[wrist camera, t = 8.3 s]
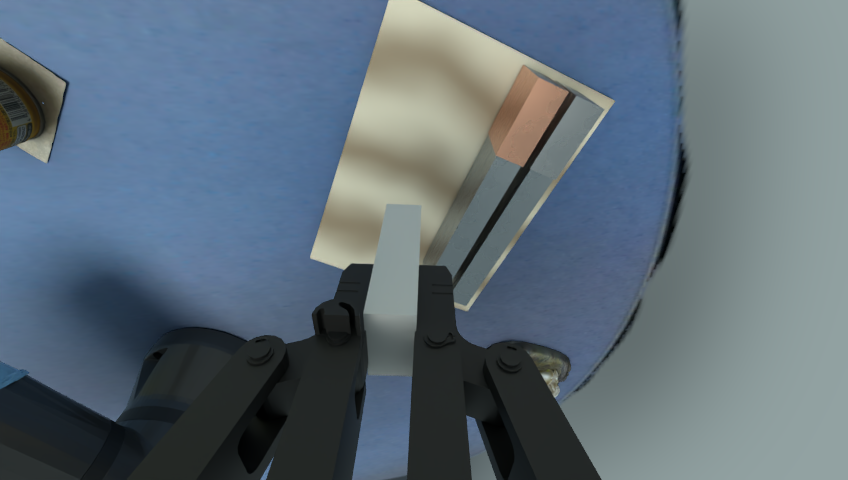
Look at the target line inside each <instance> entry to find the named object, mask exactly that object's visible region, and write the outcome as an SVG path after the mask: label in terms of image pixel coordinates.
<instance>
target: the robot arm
mask: <svg viewBox="0 0 848 480" xmlns="http://www.w3.org/2000/svg"><path fill="white" fill-rule="evenodd" d="M420 230H421V205H403V204H387V205H386V210H385V214H384V219H383V224H382V228H381V233H380V238H379V242H378V247H377V252H376V256H375V261H374V264H356V263H351V264H350V265H349V266H348V267H347V268H346V269H345V270H344V271H343V272H342V275H341V278H340V282H339V285H338V288H337V292H336V294H335V297H334V299H332V300H329V301H326V302H323V303H322V304H320V305H319V306H318V307H316V308H315V310H314V311H313V313H312V319H313V324H314V329H315V335H314V336H312V337H310V338H308V339H304V340H301V341H297V342H293V343H288V344H285V343H284V342H283V340H282V339H280V338H278V337H276V336H271V335H264V336H260V337H256V338H254V339H252V340H250V341H248V342H245V341H243V340H241V339H239V338H237V337H234V336H232V335H229V334H226V333H223V332H219V331H215V330H209V329H202V328H185V329H178V330H174V331H171V332H169V333H167V334H165V335H163V336H162V337H161V338H160V339H159V340H158V341H157V342H156V343H155V345H154V346H153V347H152V348H151V350H150V351H149V352H148V353H147V355H146V357H145V358H144V360H143V363H142V366H141V369H140V371H139V374H138V377H137V380H136V382H135V385H134V388H133V391H132V393H131V396H130V399H129V402H128V404H127V407H126V408H125V410H124V411H123V413H122V414H121V415H120V417H119V418H118V419H117V421H116V422H114V421H112V420H110V419H109V418H107V417H105V416H103V415H101V414H99V413H97V412H95V411H93V410H91V409H90V408H88V407H86V406H84V405H82V404H80V403H78V402H76V401H74V400H72V399H70V398H69V397H67V396H65V395H63V394H61V393H59V392H57V391H55V390H53V389H51V388H50V387H48V386H46V385H44V384H42V383H40V382H39V381H37V380H35V379H33V378H31V377H30V376H28V375H27V374H29V372H28V371H26V370H18V369H15V368H13V367H11V366H9V365H7V364H5V363H2V362H0V480H260V479H261V477H262V476H263V474H264V472H265V470H266V469H267V467H268V465H269V463H270V462H271V460H272V458H273V457H274V458H273V461H272V464H271V467H270V470H269V473H268V476H267V479H266V480H352V475H353V469H354V463H355V457H356V451H357V444H358V438H359V432H360V426H361V419H362V413H363V407H364V401H365V395H366V383H365V379H366V373H367V368H368V375H386V376H412V393H411V412H410V432H409V452H408V472H407V480H472V478H471V466H470V454H469V443H468V431H467V419H466V415H467V416H470V417H473V418H475V420H476V423H477V425H478V428H479V431H480V434H481V437H482V440H483V442H484V445H485V448H486V451H487V454H488V456H489V459H490V462H491V464H492V468H493V470H494V473H495V476H496V479H497V480H601V478H600V476H599V475H598V473H597V471H596V469H595V467H594V466H593V464H592V462H591V460H590V459H589V457H588V455H587V453H586V452H585V450H584V448H583V447H582V445H581V443H580V442H579V439H578V438H577V436H576V434H575V433H574V431H573V429H572V427H571V426H570V424H569V422H568V420H567V419H566V417H565V415H564V413H563V412H562V410H561V408H560V406H559V405H558V403H557V401H556V399H555V398H554V396H553V394H552V392H551V391H550V389H549V387H548V385H547V384H546V382H545V380H544V378H543V377H542V375H541V373H540V371H539V370H538V368H537V366H536V365H535V363H534V361H533V359H532V358H531V356H530V355H529V354H528V353H527V351H526V350H524V349H523V348H521V347H519V346H518V345H515V344H512V343H497V344H495V345H492V346H491V347H490V348H489V349H485V348H482V347H479V346H476V345H474V344H471V343H469V342H468V341H466V340H465V339H464V338H463V337H462V336H461V335H460V334H459V332H458V330H457V327H456V320H455V307H454V295H453V283H452V274H451V273H450V271H449V270H448V269H447V267H446V266H435V265H419V258H420Z"/></svg>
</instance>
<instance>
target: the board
mask: <svg viewBox="0 0 848 480" xmlns="http://www.w3.org/2000/svg"><path fill="white" fill-rule="evenodd" d="M523 65H525V66H527V67H529V68H531V69H533V70H535V71H537V72H539V73H542V74H544V75H546V76H548V77H549V78H551V79H552V80H553V81H558V82H560V83H562V84H564V85H566V86H568V87H570V88H572V89H574V90H576V91H578V92H580V93H581V94H583V95H584V96H586V97H587V98H589V99H590V100H592V101H593V102H594V103H596V104H597V105H599V106H600V107H602V108H603V109H605V110H604V111H603V113H602V114H601V116H600V117H599V119H598V120H597V122H596V123H595V124H594V126H593V127H592V129H591V130H590V132H589V133H588V134H587V136H586V137H585V139H584V140H583V142H582V143H581V145H580V146H579V147H578V149H577V150H576V152H575V153H574V155H573V156H572V157H571V159H570V160H569V162H568V163H567V165H566V166H565V168H564V169H563V170H562V172H561V173H560V175H559V176H558V178H557V179H556V180H553V181H552V183H551V184H550V186H549V187H548V188H547V190H546V191H545V193H544V194H543V196H542V197H541V199H540V200H539V201H538V203H537V204H536V206H535V207H534V209H533V210H532V212H531V213H530V215H529V216H528V217H527V219H526V220H525V222H524V223H523V225H522V226H521V228H520V229H519V230H518V232H517V233H516V235H515V236H514V238H513V239H512V241H511V242H510V243H509V245H508V246H507V248H506V249H505V251H504V252H503V254H502V255H501V256H500V258H499V259H498V261H497V262H496V264H495V265H494V267H493V268H492V269H491V271H490V272H489V274H488V275H487V277H486V278H485V280H484V281H483V283H482V284H481V285H480V287H479V288H478V290H477V291H476V293H475V294H474V296H473V297H472V298H471V300H470V301H469V303H468V304H467V306H464V305H461V304H458V303H456V302H454V307H455V308H458V309H461V310H464V311H468V310H469V308H470V307H471V306H472V304H473V303H474V301H475V300H476V298H477V297H478V296H479V294H480V293H481V291H482V290H483V288H484V287H485V286H486V284H487V283H488V281H489V280H490V279H491V277H492V276H493V274H494V273H495V271H496V270H497V269H498V267H499V266H500V264H501V263H502V261H503V260H504V259H505V257H506V256H507V254H508V253H509V251H510V250H511V249H512V247H513V246H514V244H515V243H516V241H517V240H518V239H519V237H520V236H521V234H522V233H523V232H524V230H525V229H526V227H527V226H528V224H529V223H530V222H531V220H532V219H533V217H534V216H535V214H536V213H537V212H538V210H539V209H540V207H541V206H542V204H543V203H544V202H545V200H546V199H547V197H548V196H549V194H550V193H551V192H552V190H553V189H554V187H555V186H556V185H557V183H558V182H559V180H560V179H561V177H562V176H563V175H564V173H565V172H566V170H567V169H568V167H569V166H570V165H571V163H572V162H573V160H574V159H575V157H576V156H577V155H578V153H579V152H580V150H581V149H582V147H583V146H584V145H585V143H586V142H587V140H588V139H589V138H590V136H591V135H592V133H593V132H594V130H595V129H596V128H597V126H598V125H599V123H600V122H601V120H602V119H603V118H604V116H605V115H606V113H607V112H608V110H609V109H610V108H611V106H612V105H613V103H614V102H615V101H614V100H612V99H611V98H609V97H607V96H605V95H603V94H601V93H599V92H597V91H595V90H593V89H591V88H589V87H587V86H585V85H583V84H581V83H579V82H578V81H576V80H574V79H572V78H570V77H568V76H566V75H564V74H562V73H560V72H558V71H556V70H554V69H552V68H550V67H548V66H546V65H544V64H542V63H540V62H538V61H536V60H534V59H532V58H530V57H528V56H527V55H525V54H523V53H521V52H519V51H517V50H515V49H513V48H511V47H509V46H507V45H505V44H503V43H501V42H499V41H497V40H495V39H493V38H491V37H489V36H487V35H485V34H483V33H481V32H479V31H477V30H476V29H474V28H472V27H470V26H468V25H466V24H464V23H462V22H460V21H458V20H456V19H454V18H452V17H450V16H448V15H446V14H444V13H442V12H440V11H438V10H436V9H434V8H432V7H430V6H428V5H426V4H425V3H423V2H421V1H419V0H389V2H388V5H387V8H386V11H385V15H384V18H383V21H382V24H381V28H380V31H379V34H378V38H377V41H376V44H375V47H374V51H373V54H372V57H371V60H370V64H369V67H368V70H367V73H366V77H365V80H364V83H363V86H362V90H361V93H360V96H359V99H358V103H357V106H356V109H355V113H354V116H353V119H352V122H351V126H350V129H349V132H348V135H347V139H346V142H345V145H344V148H343V152H342V155H341V158H340V161H339V165H338V168H337V171H336V174H335V178H334V181H333V184H332V187H331V191H330V194H329V197H328V201H327V204H326V207H325V210H324V214H323V217H322V220H321V223H320V227H319V230H318V233H317V236H316V240H315V243H314V246H313V249H312V253H311V256H310V258H311V259H314V260H317V261H320V262H323V263H326V264H329V265H332V266H335V267H338V268H341V269H344V270H345V269H346V268H347V267H348V266H349V265H350V264H351V263H356V264H374V261H375V256H376V252H377V247H378V242H379V238H380V233H381V228H382V224H383V219H384V214H385V210H386V205H387V204H403V205H421V230H420V258H419V265H423V259H424V257H425V255H426V253H427V251H428V249H429V247H430V245H431V244H432V242H433V240H434V238H435V236H436V234H437V232H438V230H439V228H440V226H441V224H442V222H443V221H444V219H445V217H446V215H447V213H448V211H449V209H450V207H451V205H452V203H453V201H454V199H455V198H456V196H457V194H458V192H459V190H460V188H461V186H462V184H463V182H464V180H465V178H466V176H467V175H468V173H469V171H470V169H471V167H472V165H473V163H474V161H475V159H476V157H477V155H478V153H479V152H480V150H481V148H482V146H483V144H484V142H485V140H486V138H487V136H488V132H489V130H490V128H491V126H492V124H493V122H494V120H495V118H496V116H497V114H498V112H499V110H500V108H501V106H502V105H503V103H504V101H505V99H506V97H507V95H508V93H509V91H510V89H511V87H512V85H513V83H514V81H515V80H516V78H517V76H518V74H519V72H520V70H521V68H522V66H523Z"/></svg>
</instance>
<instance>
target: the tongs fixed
mask: <svg viewBox="0 0 848 480" xmlns="http://www.w3.org/2000/svg"><path fill="white" fill-rule="evenodd" d="M555 82H556V83H557V84H559V85H560V86H561V87H563V88H564V89H565V90H567V91H568V92H569V93H568V94H567V96H566V97H565V99H564V101H563V102H562V104H561V106H560V107H559V109H558V111H557V112H556V114H555V116H554V117H553V119H552V120H551V122H550V124H549V125H548V127H547V129H546V130H545V132H544V134H543V135H542V137H541V138H540V140H539V142H538V143H537V145H536V147H535V148H534V150H533V152H532V153H531V155H530V156H529V158H528V160H527V161H526V163H525V165H524V166H523V167H522V166H521V167H520V169H519V171H518V172H517V174H516V176H515V177H514V179H513V181H512V182H511V184H510V186H509V187H508V189H507V190H506V192H505V194H504V195H503V197H502V199H501V200H500V202H499V204H498V205H497V207H496V209H495V210H494V212H493V214H492V215H491V217H490V219H489V220H488V222H487V223H486V225H485V227H484V228H483V230H482V232H481V233H480V235H479V237H478V238H477V240H476V242H475V243H474V245H473V247H472V248H471V250H470V252H469V253H468V255H467V256H466V258H465V260H464V261H463V263H462V265H461V266H460V268H459V270H458V271H457V273H456V275H455V276H454V278H453V280H452V283H453V295H454V302H456V303H458V304H461V305H464V306H467V304H468V303H469V301H470V300H471V298H472V297H473V296H474V294H475V293H476V291H477V290H478V288H479V287H480V285H481V284H482V283H483V281H484V280H485V278H486V277H487V275H488V274H489V272H490V271H491V269H492V268H493V267H494V265H495V264H496V262H497V261H498V259H499V258H500V256H501V255H502V254H503V252H504V251H505V249H506V248H507V246H508V245H509V243H510V242H511V241H512V239H513V238H514V236H515V235H516V233H517V232H518V230H519V229H520V228H521V226H522V225H523V223H524V222H525V220H526V219H527V217H528V216H529V215H530V213H531V212H532V210H533V209H534V207H535V206H536V204H537V203H538V201H539V200H540V199H541V197H542V196H543V194H544V193H545V191H546V190H547V188H548V187H549V186H550V184H551V183H552V181H553V180H556V179H557V178H558V176H559V175H560V173H561V172H562V170H563V169H564V168H565V166H566V165H567V163H568V162H569V160H570V159H571V157H572V156H573V155H574V153H575V152H576V150H577V149H578V147H579V146H580V145H581V143H582V142H583V140H584V139H585V137H586V136H587V134H588V133H589V132H590V130H591V129H592V127H593V126H594V124H595V123H596V122H597V120H598V119H599V117H600V116H601V114H602V113H603V111H604V110H605V109H603V108H602V107H600V106H599V105H597V104H596V103H594V102H593V101H592V100H590V99H589V98H587V97H586V96H584V95H583V94H581V93H580V92H578V91H576V90H574V89H572V88H570V87H568V86H566V85H564V84H562V83H560V82H558V81H555Z"/></svg>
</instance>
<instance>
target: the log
mask: <svg viewBox="0 0 848 480" xmlns="http://www.w3.org/2000/svg"><path fill="white" fill-rule="evenodd" d="M504 343H512V344H515V345H518V346H519V347H521V348H523V349H524V350H526V351H527V353H528V354H529V355H530V356H531V358H532V359H533V361H534V363H535V365H536V366H537V368H538V370H539V371H540V373H541V375H542V377H543V378H544V380H545V382H546V384H547V385H548V387H549V389H550V391H551V392H552V394H553V396H554V397H556V396H557V395H558V394H559V392H560V389H559V386H558V383H559V382H562V381H564V380H565V379H566V378H567V376H568V375H569V373H568V372H570V370H571V364H570V361H569V359H568V357H567V356H565V355H564V354H562V353H561V352H558V351H556V350H553V349H550V348H547V347H544V346H540V345H536V344H531V343H527V342H518V341H510V342H504ZM493 345H495V344H493ZM491 346H492V345H491ZM491 346H490V347H491ZM490 347H489V348H490ZM489 348H487V349H489Z"/></svg>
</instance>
